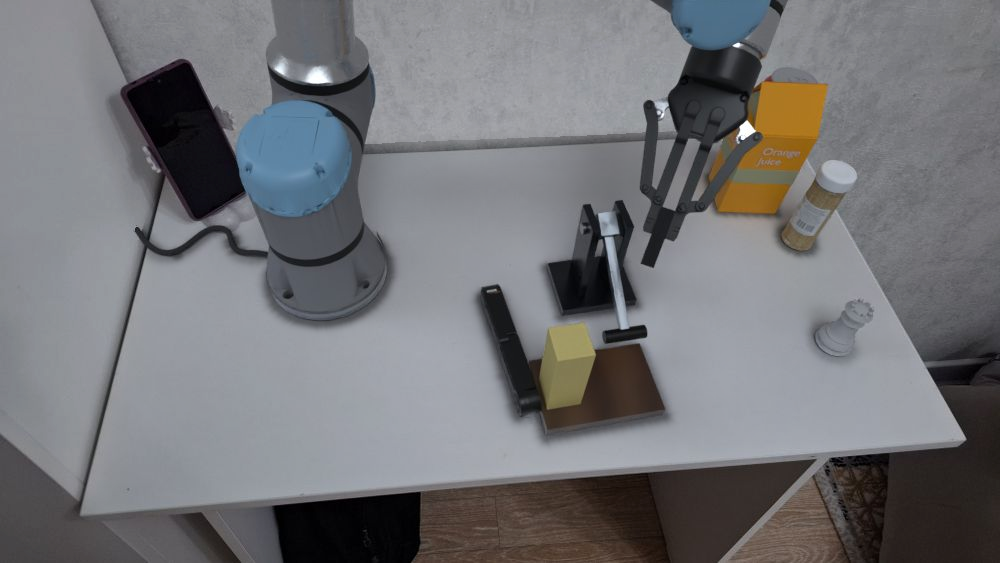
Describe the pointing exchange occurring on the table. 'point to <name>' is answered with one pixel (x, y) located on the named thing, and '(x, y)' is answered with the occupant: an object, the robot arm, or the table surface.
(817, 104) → the orange juice
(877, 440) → the table surface
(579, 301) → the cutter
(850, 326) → the rook chess piece
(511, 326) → the black long bar
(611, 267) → the arm
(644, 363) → the board
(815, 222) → the sprinkles bottle
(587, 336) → the butter
